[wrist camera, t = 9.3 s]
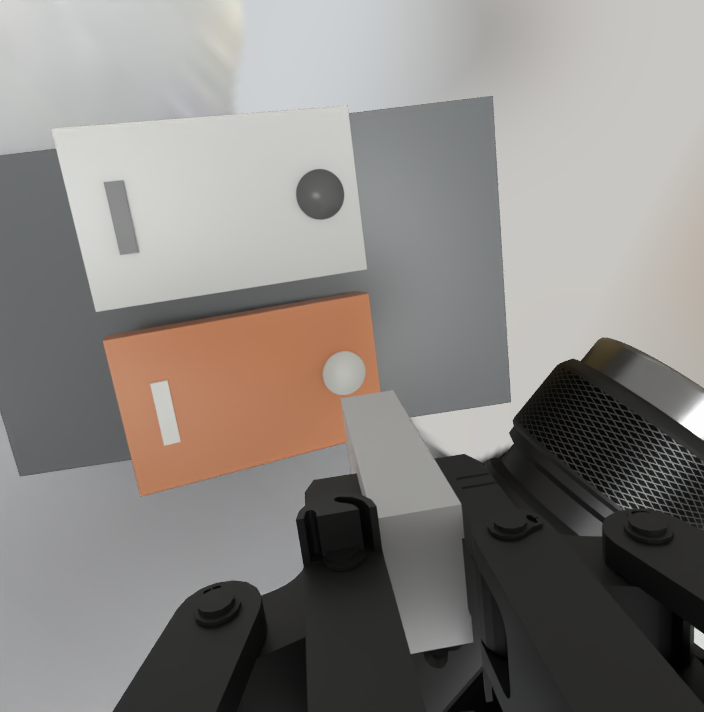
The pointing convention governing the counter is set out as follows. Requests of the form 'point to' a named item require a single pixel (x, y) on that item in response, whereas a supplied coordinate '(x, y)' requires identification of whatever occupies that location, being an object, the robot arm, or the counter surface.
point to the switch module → (270, 286)
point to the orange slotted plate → (240, 387)
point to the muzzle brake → (587, 473)
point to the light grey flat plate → (212, 203)
